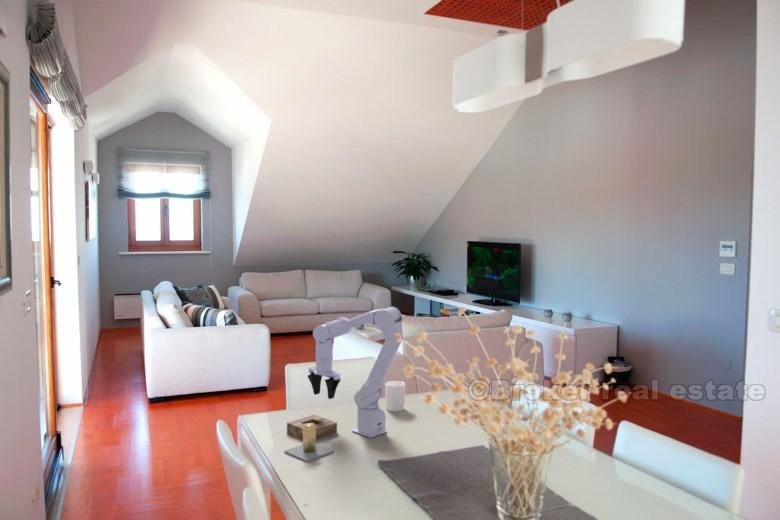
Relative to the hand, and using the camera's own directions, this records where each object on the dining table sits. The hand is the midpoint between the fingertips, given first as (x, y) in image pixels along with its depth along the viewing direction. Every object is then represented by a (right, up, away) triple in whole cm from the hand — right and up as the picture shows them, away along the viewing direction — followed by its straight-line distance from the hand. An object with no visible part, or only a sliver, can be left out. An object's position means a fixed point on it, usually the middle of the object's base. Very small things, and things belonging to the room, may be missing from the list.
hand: (323, 396), depth 214 cm
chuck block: (-3, -11, -7) cm, 13 cm away
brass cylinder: (-2, -11, -25) cm, 27 cm away
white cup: (+25, -10, +19) cm, 33 cm away
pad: (-2, -12, -25) cm, 28 cm away
